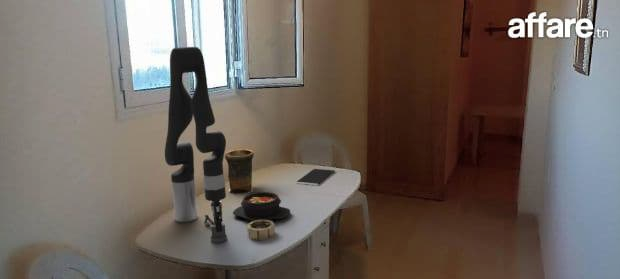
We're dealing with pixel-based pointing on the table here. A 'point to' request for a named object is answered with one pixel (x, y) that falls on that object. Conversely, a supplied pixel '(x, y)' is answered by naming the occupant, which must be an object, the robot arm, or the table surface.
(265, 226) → the octagonal wooden ring
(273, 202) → the casserole
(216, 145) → the robot arm
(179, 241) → the table surface
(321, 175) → the smartphone
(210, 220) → the wooden post with brackets
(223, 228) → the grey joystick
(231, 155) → the vessel
